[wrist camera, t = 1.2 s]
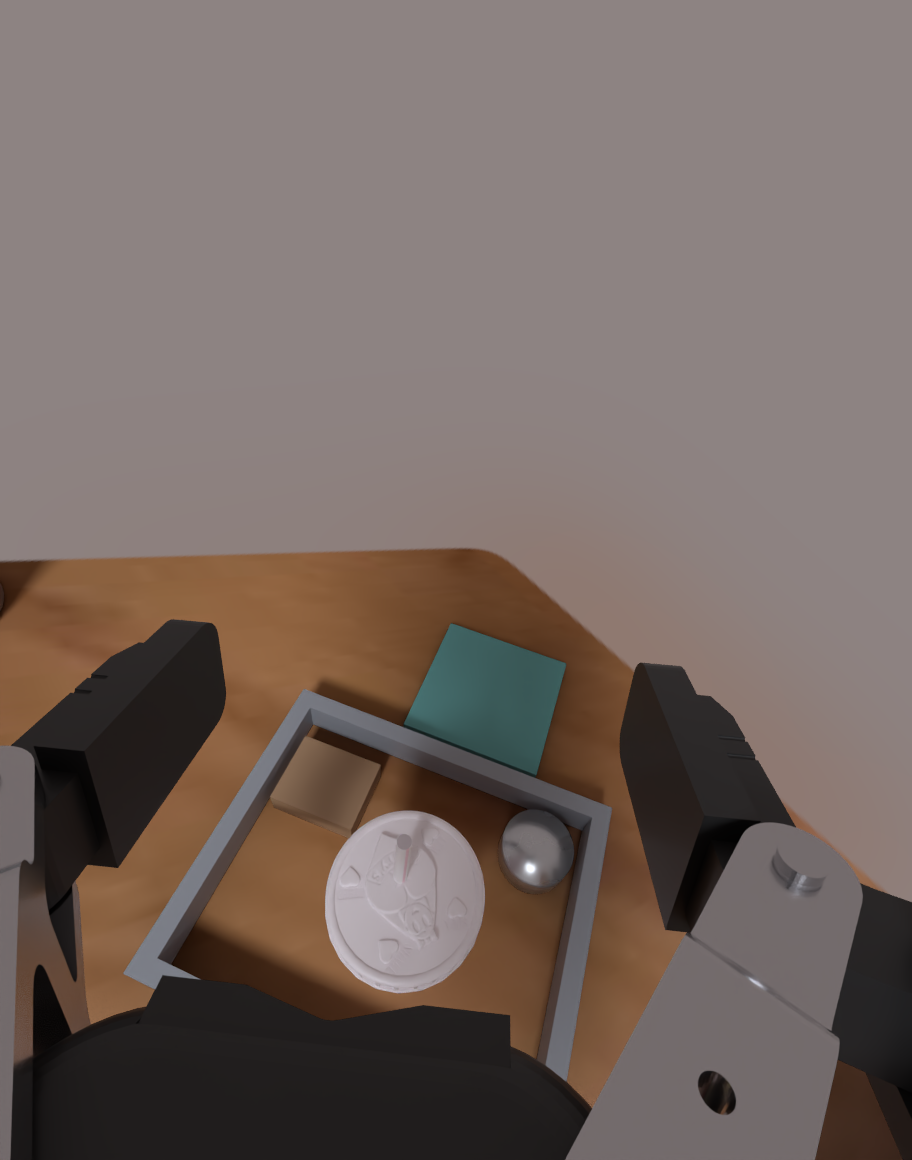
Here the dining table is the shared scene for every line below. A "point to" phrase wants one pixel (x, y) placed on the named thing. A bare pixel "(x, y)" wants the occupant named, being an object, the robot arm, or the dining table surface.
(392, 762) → the dining table surface
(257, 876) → the dining table surface
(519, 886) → the silver round puck
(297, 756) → the walnut tile
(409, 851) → the smoothie
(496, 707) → the teal mat
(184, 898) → the grey rectangular frame
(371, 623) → the dining table surface
